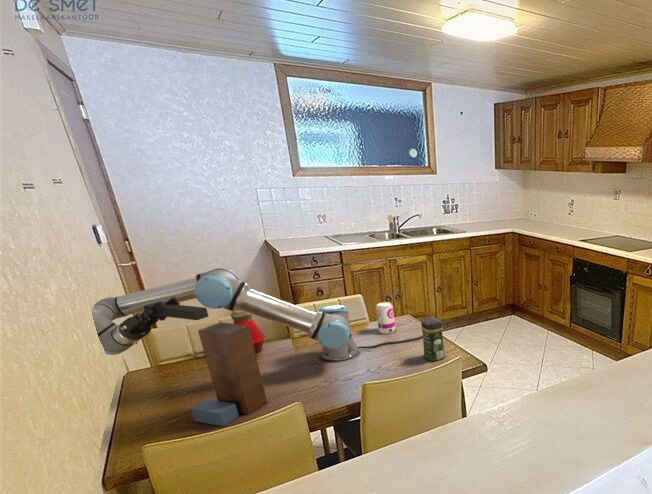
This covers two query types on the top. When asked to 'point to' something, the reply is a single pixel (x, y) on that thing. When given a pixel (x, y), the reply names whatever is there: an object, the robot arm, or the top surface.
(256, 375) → the walnut post
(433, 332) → the coffee jar
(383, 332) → the supplement can
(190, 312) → the back pad
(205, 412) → the base pad
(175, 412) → the top surface
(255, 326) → the bottle
